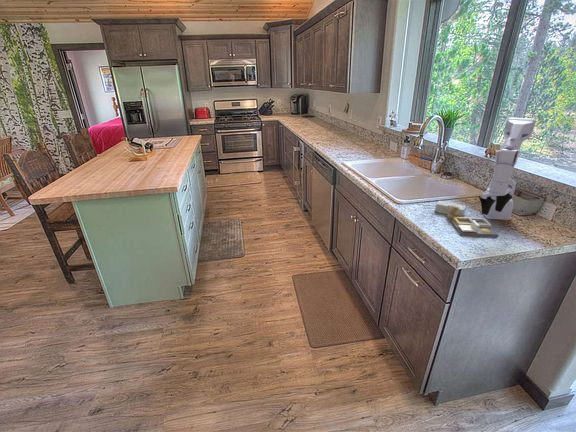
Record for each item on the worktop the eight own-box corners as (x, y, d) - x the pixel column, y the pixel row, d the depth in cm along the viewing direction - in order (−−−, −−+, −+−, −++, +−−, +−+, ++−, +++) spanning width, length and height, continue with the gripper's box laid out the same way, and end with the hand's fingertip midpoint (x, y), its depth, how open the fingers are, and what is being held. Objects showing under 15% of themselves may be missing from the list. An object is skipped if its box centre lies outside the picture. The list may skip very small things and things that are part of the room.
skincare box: (439, 200, 150) (466, 205, 143) (437, 208, 152) (464, 213, 145) (435, 204, 146) (464, 209, 139) (434, 212, 148) (462, 218, 141)
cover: (473, 226, 129) (474, 220, 127) (477, 232, 124) (479, 225, 123) (457, 226, 130) (459, 219, 128) (462, 231, 125) (463, 224, 124)
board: (483, 223, 135) (484, 218, 134) (497, 237, 123) (498, 231, 122) (449, 221, 137) (450, 216, 136) (460, 235, 125) (461, 230, 124)
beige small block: (454, 217, 142) (457, 205, 139) (457, 220, 138) (460, 208, 136) (445, 216, 142) (448, 204, 140) (448, 220, 139) (451, 208, 136)
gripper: (503, 175, 123) (494, 206, 129) (477, 179, 118) (469, 211, 124) (521, 180, 117) (511, 212, 123) (494, 185, 112) (485, 218, 118)
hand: (491, 212), depth 123 cm, fingers open, 7 cm apart
